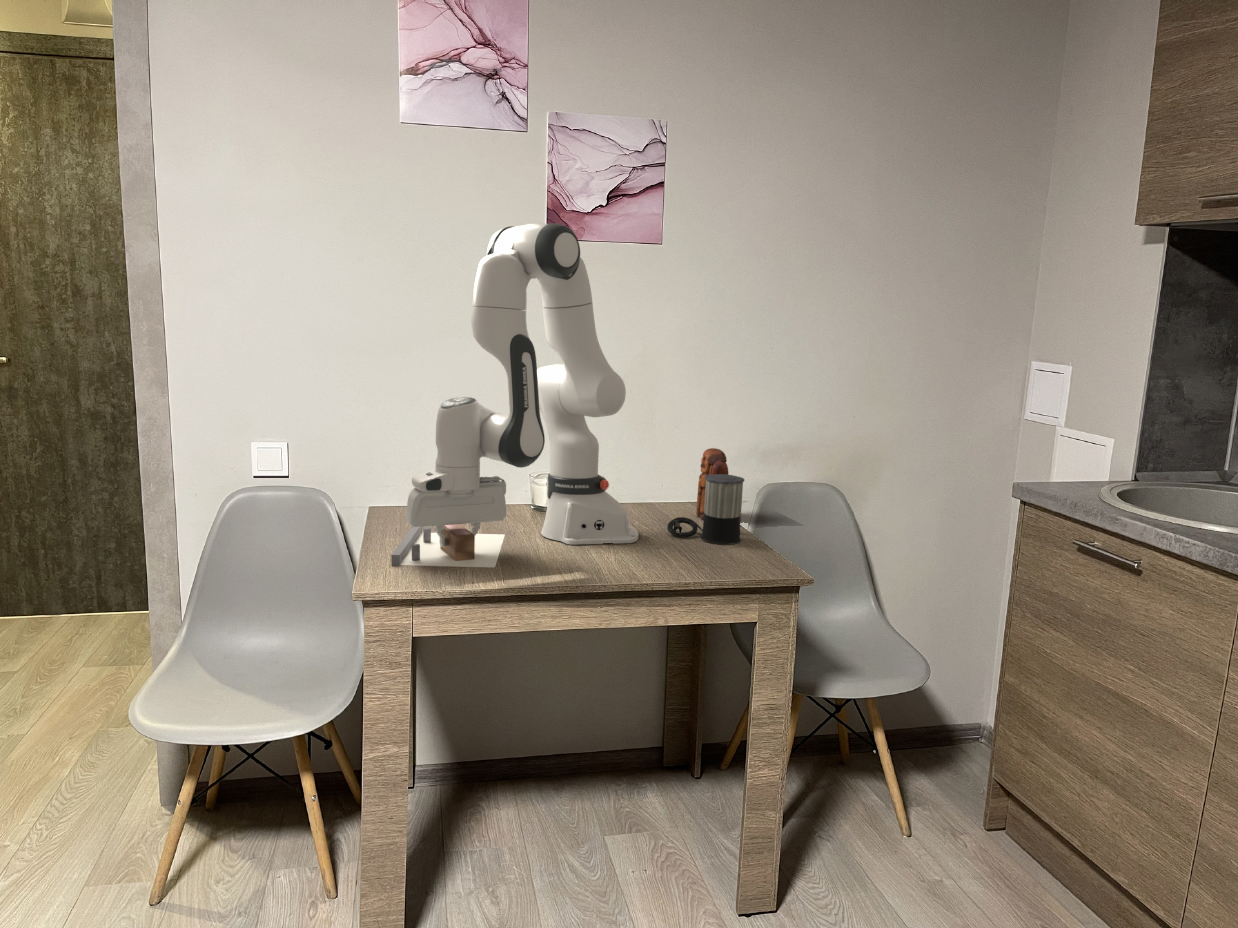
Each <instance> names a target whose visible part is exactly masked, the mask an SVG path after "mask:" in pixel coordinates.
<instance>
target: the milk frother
mask: <svg viewBox="0 0 1238 928" xmlns="http://www.w3.org/2000/svg"><path fill="white" fill-rule="evenodd" d="M705 479H706V487H705V505H704V520H702V521H703V523H702V527H701V526H700V525H699V524H698V523H697V522H696V521H695V520H693V519H692V518H688V517H685V516H681V517H680V516H679V517H675V518H672V519H671V520H670V521H669V522H668V523H667V526H666V528H667V532H669V533H670V534H671V535H673V536H676V537H681V538H689V537H693V536H695V535H696V534H697V532H698V530H700V531H701V532H702V534H701V536H700V539H701V540H702V541H704V542H706V541H707V542H706V543H709V544H714V543H717V544H716V545H725V544H726V545H734V544H733V543H736V544H738V542H739V543H741V540H742V539H741V521H742V520H741V518H742V504H743V490H744V488H743V487H744V486H743V485H744V482H745V478H744V477H741V476H738V475H733V474H728V475H723V474H714V475H707V476H705ZM681 524H685V525H689V526H690V527H691V528H692V529H691V530H690V531H689V530H688V531H686V532H683V531H682V530H683V527H682V526H681Z"/></svg>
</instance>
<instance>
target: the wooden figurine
mask: <svg viewBox="0 0 1238 928" xmlns="http://www.w3.org/2000/svg"><path fill="white" fill-rule="evenodd" d="M700 462H701V464H700V472H701V473H700V475H699V476H698V477H699V478H698V481H697V482H698V483H697V495H696V496H697V497H696V509H695V510H696V513H695V514H696V517H697V516H699V517H698V518H700V520H702V521H704V505H705V487H706V479H705V476H707V475H714V474H723V475H729V466H728V463H727V456H726V454H725V452H724V451H723V450H721V449H720V448H717V447H711V448H707V449H705V450H704V451H703V453H702V457H701V460H700Z"/></svg>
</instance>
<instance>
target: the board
mask: <svg viewBox="0 0 1238 928" xmlns="http://www.w3.org/2000/svg"><path fill="white" fill-rule="evenodd" d="M505 536H506V534H502V533H501V534H495V533H491V534H490V533H477V534H476V536H475V554H474V559H472V560H462V561H454V560H453V559H452V558H451V557H450V556H448V555H447V554H446V553H445V552H444V551H443V550H441V549H440V537H439V536H438V534H437V533H436V532H432V527H431V526H429V527H416V528H415V527H412V526H411V528H410V529H409V531H408V532H407V533H406V535H405V536H404V537H403V538H402V540H401V542H400V543H399V544H398V545H397V547H396V548H395V549H394V551H393V552H392V553H391V558H390V559H391V566H411V567H413V566H415V567H417V566H418V567H421V566H422V567H424V566H425V567H455V568H456V567H459V568H463V567H465V568H496V565H497V562H498V559H499V555H500V553H501V549H502V546H503V542H504V540H505V539H504V538H505Z"/></svg>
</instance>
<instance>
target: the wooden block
mask: <svg viewBox="0 0 1238 928" xmlns="http://www.w3.org/2000/svg"><path fill="white" fill-rule="evenodd" d="M470 531H471V530H468V529H467V528H466V527H464V526H463V525H462V524H455V525H444V530H443V531H441V532H442V534H443V535H444V536H447V537H448V538H449V542H448V543H449V546H444V547H441V546H440V549H441V550H443V551H444V552H445V553H446V554H447V555H448V556H450V557H451V558H452V559H453V560H454V561H462V560H472V559H474V554H475V535H474V534H473V533H471V532H470Z"/></svg>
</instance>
